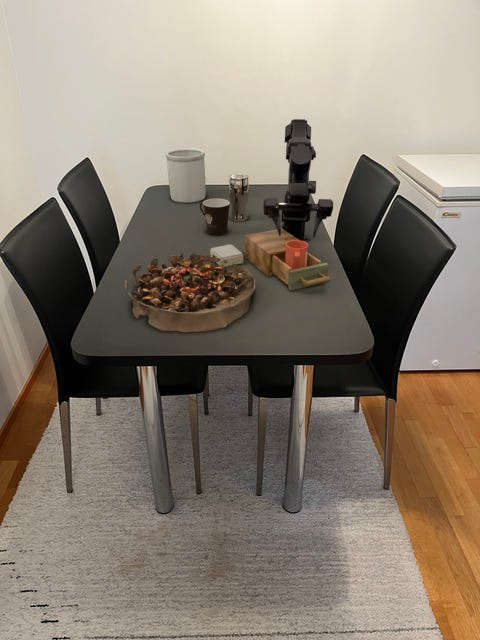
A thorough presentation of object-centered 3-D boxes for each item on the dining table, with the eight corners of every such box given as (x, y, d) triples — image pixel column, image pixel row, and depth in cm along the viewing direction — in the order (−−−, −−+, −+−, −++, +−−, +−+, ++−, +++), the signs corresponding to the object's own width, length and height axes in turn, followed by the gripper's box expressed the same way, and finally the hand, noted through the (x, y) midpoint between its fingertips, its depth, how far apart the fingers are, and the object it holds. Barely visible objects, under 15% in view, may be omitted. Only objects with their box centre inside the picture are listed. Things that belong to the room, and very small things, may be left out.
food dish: (141, 268, 145) (139, 243, 141) (255, 271, 145) (256, 246, 141) (110, 330, 115) (106, 299, 111) (254, 334, 114) (256, 304, 110)
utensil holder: (164, 202, 193) (160, 156, 183) (174, 191, 205) (170, 146, 196) (202, 204, 191) (200, 157, 182) (209, 192, 203) (208, 148, 194)
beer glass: (246, 222, 174) (247, 179, 167) (227, 221, 176) (226, 178, 168) (250, 215, 180) (250, 173, 172) (231, 214, 181) (231, 172, 174)
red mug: (284, 266, 140) (286, 239, 136) (305, 267, 139) (307, 240, 135) (284, 280, 133) (286, 252, 129) (306, 281, 132) (308, 253, 128)
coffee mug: (233, 235, 165) (233, 205, 159) (208, 238, 162) (207, 208, 157) (222, 223, 174) (221, 194, 169) (198, 226, 172) (197, 197, 166)
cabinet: (306, 267, 144) (307, 245, 140) (267, 276, 139) (268, 253, 135) (280, 249, 155) (281, 228, 151) (244, 256, 150) (244, 235, 146)
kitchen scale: (231, 253, 152) (231, 243, 151) (243, 263, 146) (243, 253, 145) (209, 257, 150) (209, 248, 148) (220, 267, 144) (220, 258, 142)
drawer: (335, 288, 131) (337, 270, 128) (299, 297, 127) (300, 278, 124) (300, 262, 145) (301, 245, 142) (266, 270, 140) (266, 252, 138)
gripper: (264, 168, 132) (262, 223, 129) (336, 169, 131) (335, 225, 127) (264, 188, 143) (262, 239, 139) (331, 189, 142) (330, 241, 138)
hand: (296, 236), depth 136 cm, fingers open, 9 cm apart
